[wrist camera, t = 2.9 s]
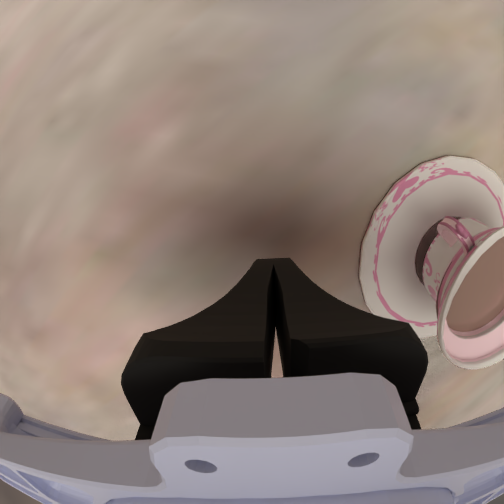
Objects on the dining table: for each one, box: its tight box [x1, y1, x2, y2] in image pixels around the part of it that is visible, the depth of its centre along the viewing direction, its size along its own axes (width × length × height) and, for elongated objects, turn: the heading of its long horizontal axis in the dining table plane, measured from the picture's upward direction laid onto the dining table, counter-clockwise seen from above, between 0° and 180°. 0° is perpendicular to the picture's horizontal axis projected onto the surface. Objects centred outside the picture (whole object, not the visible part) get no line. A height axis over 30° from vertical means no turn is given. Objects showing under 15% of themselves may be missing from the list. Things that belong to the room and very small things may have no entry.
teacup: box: [359, 155, 504, 369], centre depth 13 cm, size 12×12×6 cm
